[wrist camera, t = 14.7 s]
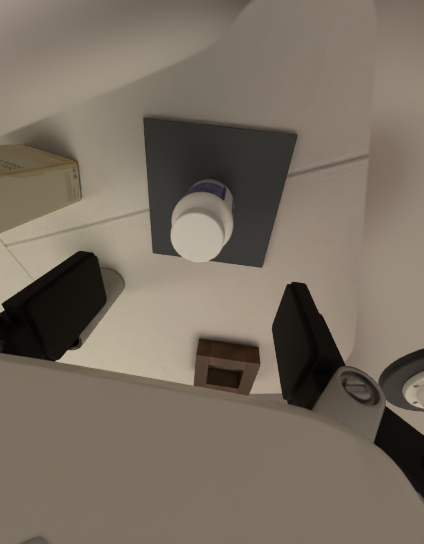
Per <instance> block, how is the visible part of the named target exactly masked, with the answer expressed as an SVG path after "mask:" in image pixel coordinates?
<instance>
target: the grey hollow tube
mask: <svg viewBox="0 0 424 544" xmlns="http://www.w3.org/2000/svg"><path fill="white" fill-rule="evenodd" d="M100 270H101V274H102V278H103V283H104V287H105V291H106V296H107V302H106V304H105V305H104V307H103V308H102V309H101V310H100V312H99V313H98V314H97V315H96V316H95V318H94V319H93V320H92V321H91V322H90V324H89V325H88V326H87V327H86V328H85V330H84V331H83V332H82V333H81V334H80V336H79V337H78V338H77V339H76V340H75V342H74V343H73V344H72V345H71V346H70V348H69V349H68V350H76V349H78V348H80V347H81V346H82V345H83V343H84V342H85V341H86V339H87V338H88V337H89V335H90V334H91V333H92V331H93V330H94V329H95V327H96V326H97V325H98V323H99V322H100V321H101V319H102V318H103V317H104V315H105V314H106V312H107V311H108V310H109V308H110V307H111V306H112V304H113V303H114V302H115V300H116V299H117V298H118V296H119V295H120V294H121V292H122V291H123V289H124V286H125V284H124V280H123V279H122V277H121V276H120V275H119V274H118V273H117V272H115V271H113V270H110V269H100Z"/></svg>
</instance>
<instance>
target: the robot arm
mask: <svg viewBox="0 0 424 544" xmlns="http://www.w3.org/2000/svg"><path fill="white" fill-rule="evenodd" d="M106 302H107V296H106V291H105V287H104V283H103V278H102V274H101V270H100V266H99V261H98V258H97V256H95V255H94V253H92V252H85V251H79V252H77V253H75V254H74V255H72V256H71V257H69V258H68V259H67V260H65V261H64V262H62V263H61V264H59V265H58V266H56V267H55V268H53V269H52V270H50V271H49V272H47V273H46V274H45V275H43V276H42V277H40V278H39V279H37V280H36V281H34V282H33V283H31V284H30V285H28V286H27V287H25V288H24V289H23V290H21V291H20V292H18V293H17V294H15V295H14V296H12V297H11V298H9V299H8V300H6V301H5V302H3V303H2V306H3V308H4V309H5V310H4V311H3V312H1V313H0V544H424V435H422V434H421V433H420V432H418V431H417V430H416V429H415V428H413V427H412V426H411V425H409V424H408V423H407V422H406V421H404V420H403V419H402V418H400V417H399V416H398V415H397V414H395V413H394V412H393V411H391V410H390V409H389V408H388V407H386V406H385V405H386V398H385V395H384V392H383V391H382V389H381V388H380V386H379V385H378V384H377V383H376V382H375V380H374V379H373V378H371V377H370V376H369V375H368V374H366V373H365V372H363V371H361V370H359V369H357V368H354V367H350V366H346V365H345V363H344V361H343V359H342V357H341V355H340V352H339V350H338V348H337V346H336V344H335V342H334V339H333V337H332V335H331V333H330V331H329V328H328V326H327V324H326V322H325V320H324V318H323V316H322V315H321V314H319V312H318V310H317V308H316V305H315V303H314V301H313V299H312V296H311V294H310V292H309V290H308V287H307V285H306V284H305V283H298V282H292V283H291V284H287V286H286V289H285V291H284V294H283V297H282V300H281V302H280V305H279V308H278V311H277V314H276V316H275V319H274V322H273V325H272V333H273V339H274V345H275V352H276V358H277V364H278V371H279V377H280V383H281V389H282V395H283V399H284V400H287V402H288V404H286V403H281V402H276V401H272V400H266V399H261V398H257V397H251V396H246V395H241V394H236V393H231V392H225V391H220V390H214V389H208V388H203V387H197V386H192V385H186V384H181V383H175V382H169V381H164V380H158V379H152V378H147V377H141V376H135V375H129V374H124V373H118V372H112V371H106V370H101V369H95V368H89V367H83V366H77V365H71V364H65V363H59V362H55V361H56V360H59V359H60V358H61V357H62V356H63V355H64V354H65V352H66V351H67V350H68V349H69V348H70V346H71V345H72V344H73V343H74V342H75V340H76V339H77V338H78V337H79V336H80V334H81V333H82V332H83V331H84V330H85V328H86V327H87V326H88V325H89V324H90V322H91V321H92V320H93V319H94V318H95V316H96V315H97V314H98V313H99V312H100V310H101V309H102V308H103V307H104V305H105V304H106ZM402 393H403V396H404V397H405V398H406V400H407V401H408V402H409V403H410V404H412V405H414V406H416V407H419V408H423V409H424V371H422V372H419V373H417V374H416V375H414V376H412V377H411V378H410V379H408V380H407V381H406V383H405V384H404V385H403V388H402Z"/></svg>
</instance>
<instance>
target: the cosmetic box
mask: <svg viewBox="0 0 424 544" xmlns="http://www.w3.org/2000/svg"><path fill="white" fill-rule="evenodd" d="M80 200H81V194H80V183H79V173H78V165H77V162H76V161H73V160H70V159H67V158H64V157H61V156H58V155H55V154H52V153H49V152H45V151H42V150H39V149H36V148H32V147H29V146H26V145H22V144H14V145H0V233H2V232H4V231H7V230H9V229H12V228H14V227H17V226H19V225H21V224H24V223H26V222H29V221H31V220H33V219H36V218H39V217H41V216H43V215H46V214H48V213H51V212H53V211H56V210H58V209H60V208H63V207H65V206H68V205H70V204H73V203H75V202H78V201H80Z"/></svg>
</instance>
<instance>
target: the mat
mask: <svg viewBox="0 0 424 544" xmlns="http://www.w3.org/2000/svg"><path fill="white" fill-rule="evenodd" d="M143 122H144V136H145V150H146V164H147V178H148V192H149V206H150V220H151V234H152V248H153V253H156V254H163V255H171V256H178V257H182V256H181V255H179V254H178V252H177V251H176V250H175V249H174V247H173V245H172V242H171V229H172V214H173V211H174V209H175V207H176V205H177V204H178V202H179V201H180V200H181V199H182V198H183V196H184V195H185V194H186V193H187V192H188V190H189V189H190V188H191V187H192V186H193V185H194V184H196V183H197V182H199V181H202V180H207V179H210V180H216V181H219V182H221V183H222V184H224V185H225V186H226V187H227V188H228V189H229V191H230V192H231V194H232V197H233V201H234V221H233V231H232V234H231V237H230V239H229V240H228V242H227V243H226V244H225V245H224V246H223V247H222V249H221V251H220V252H219V254H218V255H217V256H216V257H215V258H213V259H211V260H209V261H216V262H223V263H231V264H238V265H246V266H253V267H261V268H262V266H263V262H264V258H265V255H266V251H267V247H268V244H269V240H270V236H271V232H272V229H273V225H274V221H275V218H276V214H277V210H278V206H279V203H280V199H281V195H282V191H283V188H284V184H285V180H286V177H287V173H288V169H289V165H290V162H291V158H292V154H293V150H294V147H295V143H296V139H297V135H293V134H284V133H275V132H266V131H257V130H248V129H239V128H230V127H221V126H212V125H203V124H194V123H185V122H176V121H167V120H158V119H149V118H143Z"/></svg>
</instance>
